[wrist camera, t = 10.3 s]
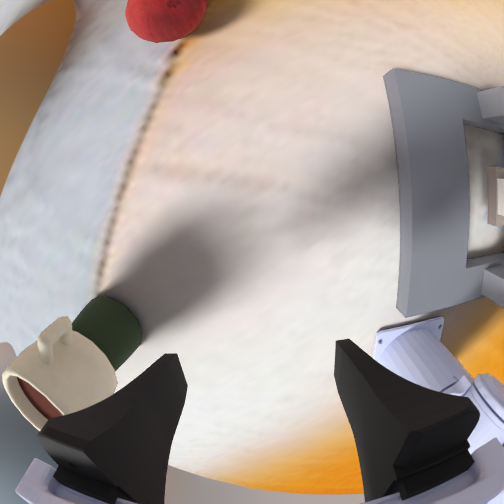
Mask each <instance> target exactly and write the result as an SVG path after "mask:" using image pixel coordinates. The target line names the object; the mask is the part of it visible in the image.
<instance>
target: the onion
mask: <svg viewBox="0 0 504 504" xmlns="http://www.w3.org/2000/svg"><path fill="white" fill-rule="evenodd" d="M206 8H207V0H128V3H127V7H126V11H125V12H126V19H127V22H128V25H129V27H130V29H131V31H133V32H134V33H135V34H136V35H137V36H139V37H140V38H142V39H144V40H147V41H151V42H155V43H159V42H169V41H175V40H177V39H180V38H183V37H185V36H186V35H188V34H189V33H191V32H192V31H194V30H195V28H196V27H197V26H198V25H199V24H200V22H201V21H202V19H203V18H204V16H205V12H206Z"/></svg>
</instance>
